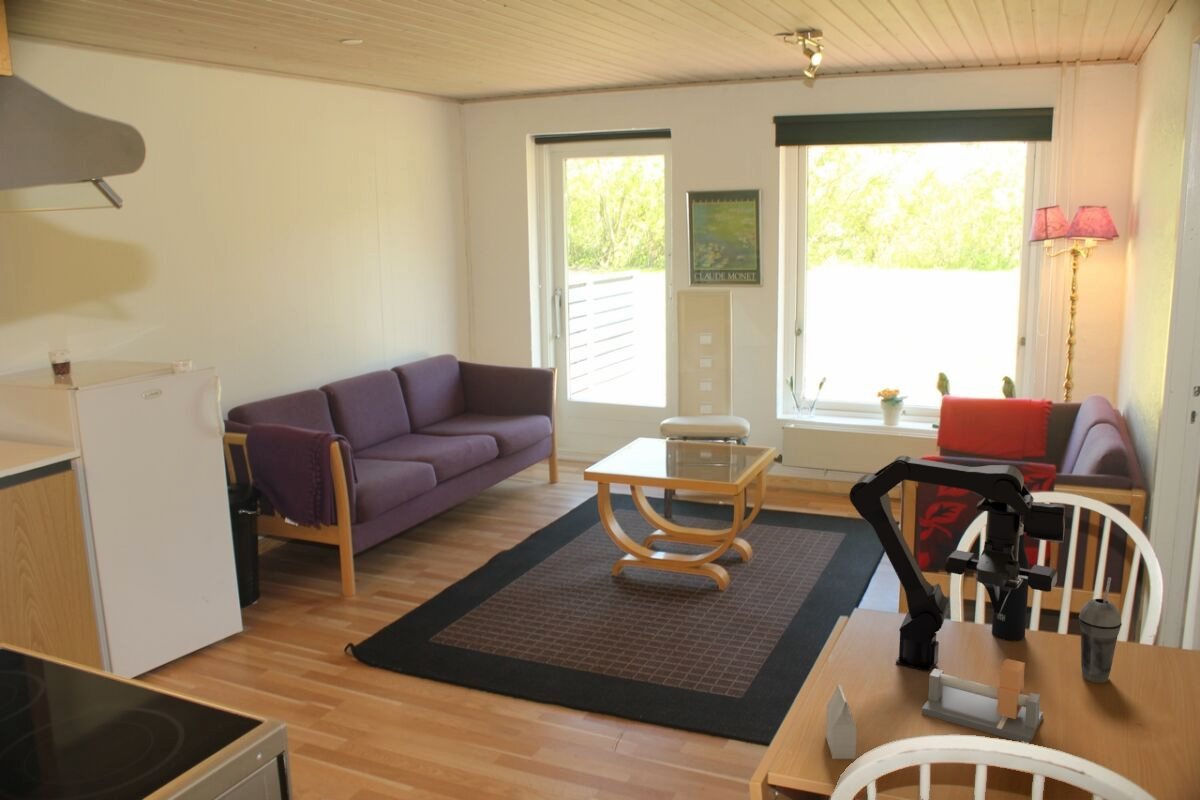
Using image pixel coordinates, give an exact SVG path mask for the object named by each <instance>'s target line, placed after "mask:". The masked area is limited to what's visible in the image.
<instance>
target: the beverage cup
mask: <svg viewBox="0 0 1200 800" xmlns="http://www.w3.org/2000/svg"><path fill="white" fill-rule="evenodd" d="M1106 581H1107V582H1106V585H1105V586H1106V588H1105V592H1104V596H1103V598H1093V599H1090V600H1089V601H1087V602H1085V603H1084V605H1082V607H1081V608H1080V611H1079V615H1078V621H1079V627H1080V653H1081V655H1080V661H1081V676H1082V677H1083V679H1085V680H1087V681H1089V682H1092V683H1097V682H1101V683H1106V681H1107V682H1108V681H1109V678H1110V674H1111V670H1112V665H1113V661H1114V660H1113V659H1114V655H1115V651H1116V645H1117V641H1118V635H1119V634H1120V630H1121V626H1122V617H1121V613H1120V611H1119V609H1118V607H1117V606H1116V605H1115V604H1114V603H1112V601H1109V600H1108V595H1109V592H1110V587H1111V581H1112V577H1110V576H1109V577H1107V580H1106ZM1101 683H1100V684H1101Z"/></svg>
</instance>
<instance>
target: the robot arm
mask: <svg viewBox="0 0 1200 800" xmlns="http://www.w3.org/2000/svg"><path fill="white" fill-rule="evenodd" d="M1024 479H1025V477H1024V475H1023V474H1022V472H1021V471H1020V470H1019V469H1018V468H1017V467H1015V466H1013V465H1010V464H998V465H997V464H996V465H995V464H989V465H983V466H966V465H962V464H961V465H960V464H953V463H949V462H948V463H947V462H941V461H934V460H928V459H922V458H914V457H911V456H908V455H899V456H898V457H896V458H895V459H894V460H893V461H891V462H890V463H888V464H887V465H885V466H883V468H881V469H879V470H878V471H876V472H875V473H874V474H872V473H871V474H865V475H863V476H861V477H860V478H859V479H858V480H857V481H856V482H855V483H854V485H853V486H852V487H851V488H850V491H849V495H848V496H849V497H848V498H849V501H850V503H851V505H852V506H853V507H854V508H855V510H856V512H857V513H858V514H859V515H860V517H862V518H863V519H864V520H865V522H867V523H868V524H869V525H870V526H871V527H872V529H873V531H874V532H875V534H876V536H877V538H878V540H879V542H880V545H881V546H882V548H883V550H884V552H885V554H886V557H887V558H888V560H889V562H890V563H891V564H890V565H891V566H892V568H893V570H894V572H895V574H896V576H897V578H898V579H899V582H900V584H901V585H902V588H903V590H904V593H905V599H906V604H907V609H908V611H907V613H906V615H905V617H904V620H903V622H902V623H901V626H899V646H898V657H897V659H895V664H897V665H900V666H903V667H908V668H913V669H917V670H919V671H920V670H921V671H924V672H929V671H930V670H932V668H933V666H935V665H936V664H937V662H938V661H939V648H940V647H939V644H940V642H939V641H938V640H937V632H938V631H940V630H941V629H942V627H943V624H944V621H945V619H946V616H947V613H948V607H949V606H948V603H949V599H948V598H947V597H946V596H945V595H944V593H943V590H942V586H941V585H940V583H939V582H938V583H936V584H934V585H932V584H931V583H930V582H929V581H928V580H927V579H926V578H925V576H924V574H923V572H922V570H921V567H919V565H918V562H917V560H916V559H915V557H914V555H913V552H912V550H911V548H910V547H909V545H908V543H907V541H906V539H905V537H904V535H903V533H902V531H901V529H900V526H899V525H898V523H897V521H896V519H895V518H894V515H893V511H892V505H891V499H890V495H889V492H890V491H891V490H892V489H894V488H895V487H896V486H897V485H899V484H900V483H901V482H903V481H909V482H917V483H922V484H928V485H936V486H941V487H947V488H953V489H959V490H966V491H969V492H972V493H973V494H976V495H978V496H980V497H981V498H983V499H981V500H979V501H978V502H977V505H976V508H975V509H976V510H977V511H981V512H987V513H986V514H987V515H986V529H985V530H986V531H985V532H986V533H985V541H984V546H983V550H982V553H981V554H980V558H979V559H975V557H976V556H975V553H973V552H968V551H963V550H957V549H956V550H953V551H952V552H951V554H950V555H949V556H948V557H947V558H946V560H945V562H944V563H945V566H944V571H945V572H947V573H951V574H955V575H963V574H964V573H966V572H967V569H969V570H974V571H976V578H975V581H976V582H978V583H980V584H982V585H983V586H984V587H985V589H986V591H987V594H988V596H989V599H990V602H991V605H992V610H993V609H994V612H995V613H997V614H999V613H1000V612H1001V610H1002V608H1003V606H1004V603H1005V601H1006V599H1007V597H1008V595H1009V593H1010V591H1011V589H1017V588H1018V587H1019V586H1020V584H1021V583H1022V581H1023V579H1024V580H1028V583H1027V584H1028V585H1029V586H1028V587H1030V589H1031V590H1035V591H1040V592H1046V593H1047V592H1048V593H1049V592H1052V591H1053V589H1054V587H1055V586H1056V584H1057V581H1058V572H1057V570H1056V568H1054V567H1051V566H1046V565H1045V566H1044V565H1041V564H1038V565H1037V564H1034V565H1033V566H1032V567H1031V569H1029V570H1028V569H1023V568H1020V566H1019V563H1018V548H1019V539H1020V537H1019V533H1020V518H1021V515H1023V525H1024V527H1023V533H1025V537H1026V536H1027V537H1029V539H1033V540H1040V541H1047V542H1048V541H1049V542H1055V543H1062V544H1063V543H1064V538H1065V537H1064V536H1065V526H1066V518H1065V507H1066V506H1065V504H1063V503H1045V502H1036V501H1034V497H1033V495H1032V494H1031V492H1030V491H1029V489H1028V488H1027V487H1026V486H1025V484H1024V482H1025V481H1024ZM999 587H1000V594H999Z"/></svg>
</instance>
